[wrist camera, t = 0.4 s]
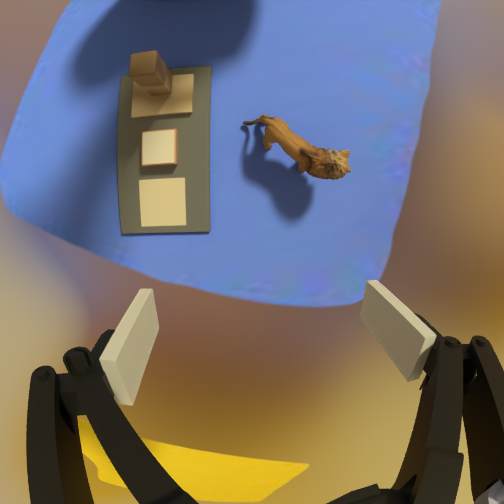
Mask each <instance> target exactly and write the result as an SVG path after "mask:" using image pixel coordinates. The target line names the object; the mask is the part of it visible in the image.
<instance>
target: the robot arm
mask: <svg viewBox="0 0 504 504" xmlns="http://www.w3.org/2000/svg"><path fill="white" fill-rule="evenodd" d="M360 319H361V320H362V321H363V323H364V324H365V325H366V327H367V328H368V329H369V330H370V332H371V333H372V334H373V336H374V337H375V338H376V340H377V341H378V342H379V344H380V345H381V346H382V348H383V349H384V350H385V352H386V353H387V354H388V356H389V357H390V358H391V360H392V361H393V362H394V364H395V365H396V366H397V368H398V369H399V370H400V372H401V373H402V374H403V376H404V377H405V379H406V380H407V382H409V381H413V380H416V379H419V377H420V375H421V373H422V371H423V370H424V371H425V372H426V376H425V379H424V381H423V383H422V385H421V387H420V390H421V389H422V393H421V398H420V403H419V407H418V412H417V416H416V420H415V424H414V427H413V431H412V435H411V438H410V442H409V445H408V448H407V452H406V454H405V457H404V461H403V463H402V466H401V469H400V472H399V474H398V477H397V479H396V482H395V483H394V485H393V486H392V488H391V489H379V487H378V485H377V484H374V485H371V486H368V487H364V488H361V489H358V490H355V491H351V492H349V493H347V494H345V495H343V496H341V497H339V498H337V499H335V500H333V501H331V502H329V503H327V504H454V503H455V499H456V496H457V491H458V487H459V482H460V477H461V472H462V466H463V460H464V455H463V453H458V447H459V439H460V430H461V420H462V416H463V421H464V427H465V432H466V439H467V447H468V455H469V465H470V478H471V490H472V496H473V501H474V504H504V371H503V368H502V366H501V364H500V362H499V360H498V358H497V356H496V354H495V352H494V350H493V348H492V346H491V344H490V342H489V341H488V340H487V339H486V338H485V337H482V336H474V337H472V339H471V341H470V344H461V342H460V341H459V340H458V339H456V338H454V337H450V336H446V337H443V336H442V335H441V334H440V333H439V332H438V331H437V330H436V329H435V328H434V327H433V326H431V325H430V324H429V323H428V322H427V321H426V320H425V319H424V318H423V317H421V316H420V315H418V314H416V313H413V312H411V311H410V310H409V309H408V308H407V307H406V306H405V305H404V304H403V303H402V302H401V301H400V300H399V299H397V298H396V297H395V296H394V295H393V294H392V293H391V292H390V291H389V290H387V289H386V288H385V287H384V286H383V285H382V284H381V283H380V282H378V281H377V280H370V281H367V282H366V288H365V294H364V299H363V305H362V310H361V315H360ZM158 330H159V324H158V318H157V314H156V307H155V302H154V295H153V289H140V290H139V292H138V294H137V295H136V297H135V298H134V300H133V302H132V303H131V305H130V307H129V308H128V310H127V312H126V313H125V315H124V317H123V318H122V320H121V322H120V323H119V325H118V327H117V328H116V330H110V329H108V330H107V331H105V332H104V333H103V334H102V335H101V336H100V338H99V339H98V342H97V343H96V344H95V347H94V348H93V349H92V351H91V352H90V351H89V350H88V349H87V348H85V347H75V348H72V349H70V350H68V351H67V352H66V353H65V355H64V356H63V362H64V364H65V366H66V368H67V370H68V373H63V374H56V372H55V370H54V369H53V368H52V367H51V366H41V367H39V368H37V369H36V370H35V371H34V372H33V373H32V376H31V382H30V390H29V399H28V411H27V434H26V436H27V437H26V438H27V440H26V449H27V450H26V451H27V473H28V484H29V493H30V500H31V504H94V501H93V498H92V494H91V491H90V487H89V483H88V478H87V474H86V469H85V465H84V460H83V454H82V449H81V443H80V436H79V429H78V421H77V415H87V418H88V420H89V422H90V424H91V426H92V428H93V430H94V432H95V434H96V436H97V438H98V440H99V441H100V443H101V445H102V447H103V449H104V451H105V452H106V454H107V456H108V458H109V459H110V461H111V463H112V464H113V466H114V467H115V469H116V471H117V472H118V474H119V475H120V477H121V478H122V480H123V481H124V483H125V484H126V486H127V487H128V489H129V490H130V492H131V493H132V494H133V496H134V497H135V499H136V500H137V501H138V503H139V504H199V503H197V502H196V501H195V500H194V499H193V498H192V497H191V496H190V495H189V494H188V493H187V492H185V491H184V490H183V489H182V488H181V487H180V486H179V485H178V484H177V483H176V482H175V481H174V480H173V479H172V478H171V476H170V475H169V474H168V473H167V472H166V471H165V469H164V468H163V467H162V466H161V465H160V463H159V462H158V461H157V460H156V458H155V457H154V456H153V455H152V453H151V452H150V451H149V449H148V448H147V447H146V446H145V444H144V443H143V441H142V440H141V439H140V437H139V436H138V435H137V433H136V432H135V431H134V429H133V427H132V426H131V425H130V423H129V422H128V420H127V419H126V417H125V416H124V414H123V412H122V411H121V409H120V408H119V406H118V405H117V403H116V402H115V400H114V396H115V398H116V401H117V402H118V404H122V405H130V406H133V404H134V401H135V398H136V395H137V392H138V389H139V385H140V382H141V379H142V376H143V373H144V370H145V367H146V364H147V361H148V358H149V356H150V352H151V349H152V347H153V344H154V341H155V338H156V336H157V333H158ZM476 375H477V376H476ZM422 387H423V388H422Z"/></svg>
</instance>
